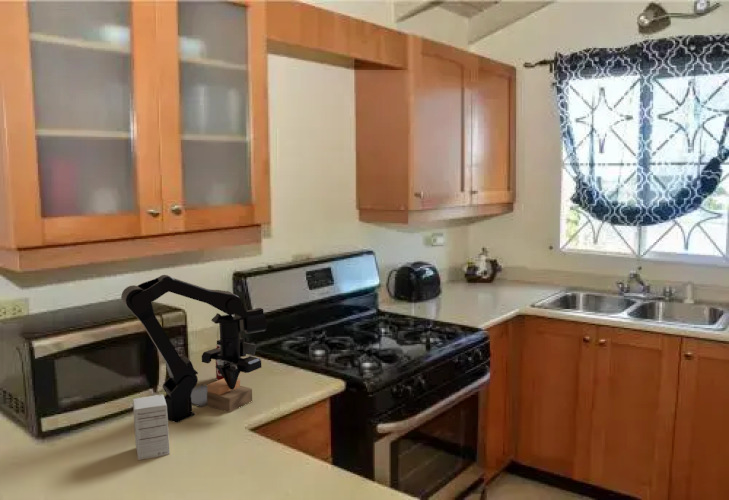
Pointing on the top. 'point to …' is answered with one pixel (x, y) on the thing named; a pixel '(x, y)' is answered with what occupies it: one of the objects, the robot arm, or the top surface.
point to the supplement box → (151, 426)
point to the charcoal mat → (199, 396)
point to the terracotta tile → (220, 386)
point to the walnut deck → (230, 399)
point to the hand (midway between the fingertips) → (232, 388)
